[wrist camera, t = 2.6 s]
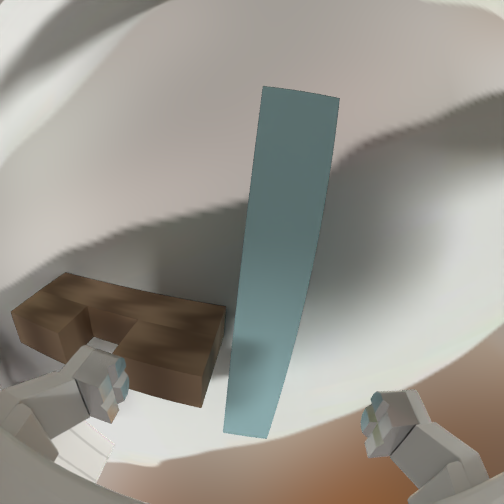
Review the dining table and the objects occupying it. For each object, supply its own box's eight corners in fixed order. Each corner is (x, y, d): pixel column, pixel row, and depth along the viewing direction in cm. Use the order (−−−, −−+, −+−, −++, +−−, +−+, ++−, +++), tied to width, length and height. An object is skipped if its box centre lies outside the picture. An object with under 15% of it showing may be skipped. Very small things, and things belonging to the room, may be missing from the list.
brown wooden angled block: (226, 306, 22) (201, 376, 15) (223, 336, 23) (201, 407, 16) (65, 272, 23) (10, 311, 15) (70, 299, 24) (21, 342, 16)
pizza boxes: (-6, 310, 27) (-81, 375, 10) (131, 450, 34) (93, 536, 17) (-18, 350, 33) (-67, 400, 16) (86, 456, 39) (54, 516, 22)
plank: (315, 120, 17) (339, 98, 9) (271, 365, 24) (266, 438, 16) (270, 113, 17) (262, 86, 10) (238, 360, 24) (223, 432, 16)
